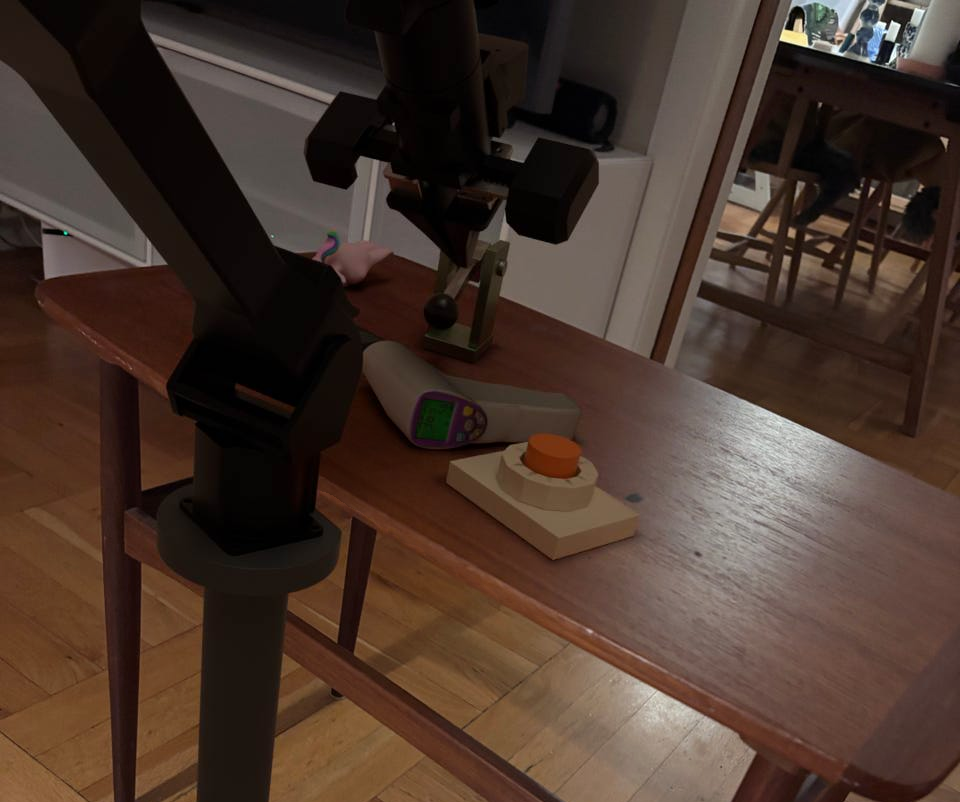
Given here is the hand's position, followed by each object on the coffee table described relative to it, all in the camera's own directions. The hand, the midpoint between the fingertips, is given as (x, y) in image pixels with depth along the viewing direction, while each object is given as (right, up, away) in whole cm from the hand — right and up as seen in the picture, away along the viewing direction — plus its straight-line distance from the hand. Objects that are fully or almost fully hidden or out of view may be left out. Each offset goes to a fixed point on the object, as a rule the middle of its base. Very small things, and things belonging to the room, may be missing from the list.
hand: (464, 262), depth 70 cm
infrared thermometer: (0, -9, +8) cm, 12 cm away
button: (+6, -16, -4) cm, 17 cm away
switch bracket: (-1, 0, +21) cm, 21 cm away
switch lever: (-1, +3, +16) cm, 16 cm away
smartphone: (-14, +1, +18) cm, 23 cm away
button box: (+5, -18, -3) cm, 19 cm away
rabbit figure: (-13, +9, +29) cm, 34 cm away
